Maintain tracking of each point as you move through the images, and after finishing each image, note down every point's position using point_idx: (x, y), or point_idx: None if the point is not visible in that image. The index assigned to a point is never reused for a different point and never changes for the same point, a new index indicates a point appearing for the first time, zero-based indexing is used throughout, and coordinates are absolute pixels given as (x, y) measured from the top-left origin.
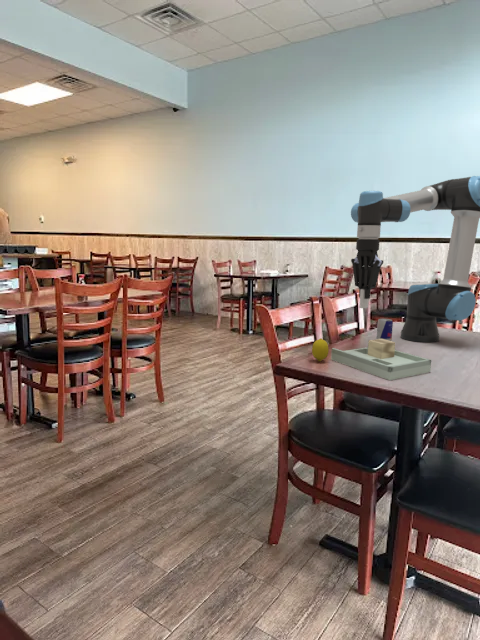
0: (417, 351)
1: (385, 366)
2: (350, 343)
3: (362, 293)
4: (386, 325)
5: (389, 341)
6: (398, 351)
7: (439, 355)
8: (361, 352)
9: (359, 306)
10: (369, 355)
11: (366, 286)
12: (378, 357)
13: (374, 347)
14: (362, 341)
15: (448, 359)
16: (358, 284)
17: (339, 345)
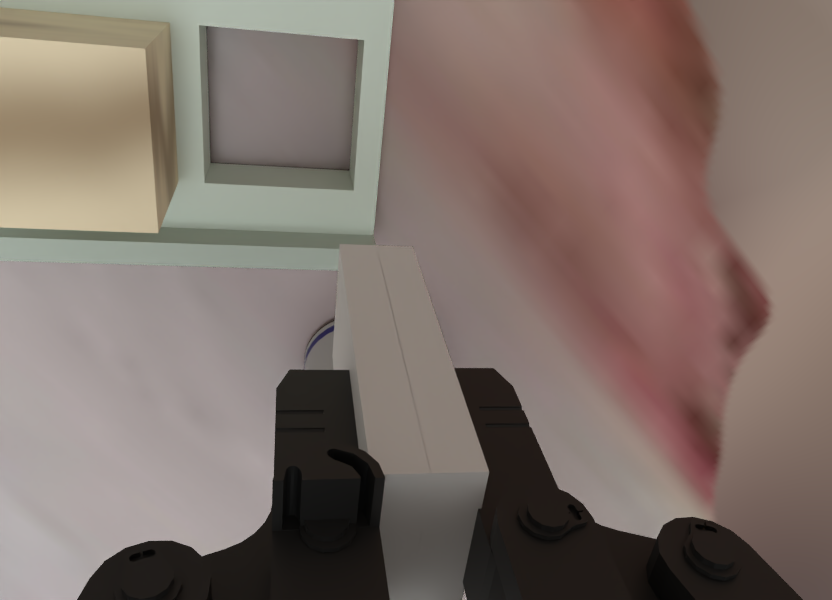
0: (243, 523)
1: None
2: (640, 333)
3: (391, 403)
4: None
5: (13, 201)
6: (19, 243)
7: (107, 556)
8: (355, 136)
9: (414, 257)
10: (144, 18)
11: (275, 564)
12: (21, 9)
13: (61, 29)
14: (617, 431)
15: (5, 535)
16: (652, 594)
17: (662, 226)
